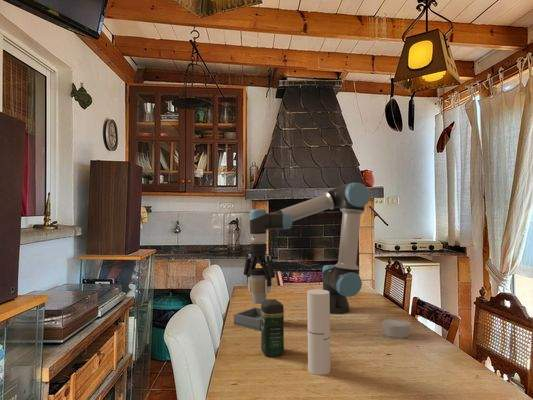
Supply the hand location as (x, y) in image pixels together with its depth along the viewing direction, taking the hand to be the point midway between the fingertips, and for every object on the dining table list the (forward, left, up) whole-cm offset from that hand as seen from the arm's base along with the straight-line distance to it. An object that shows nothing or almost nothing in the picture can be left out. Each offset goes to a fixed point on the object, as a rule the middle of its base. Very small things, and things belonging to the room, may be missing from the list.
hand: (259, 292), depth 167 cm
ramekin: (-55, -22, -15) cm, 61 cm away
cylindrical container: (-46, +26, -14) cm, 55 cm away
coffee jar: (-25, +23, -14) cm, 37 cm away
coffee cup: (0, 0, -5) cm, 5 cm away
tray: (+1, 0, -14) cm, 14 cm away
